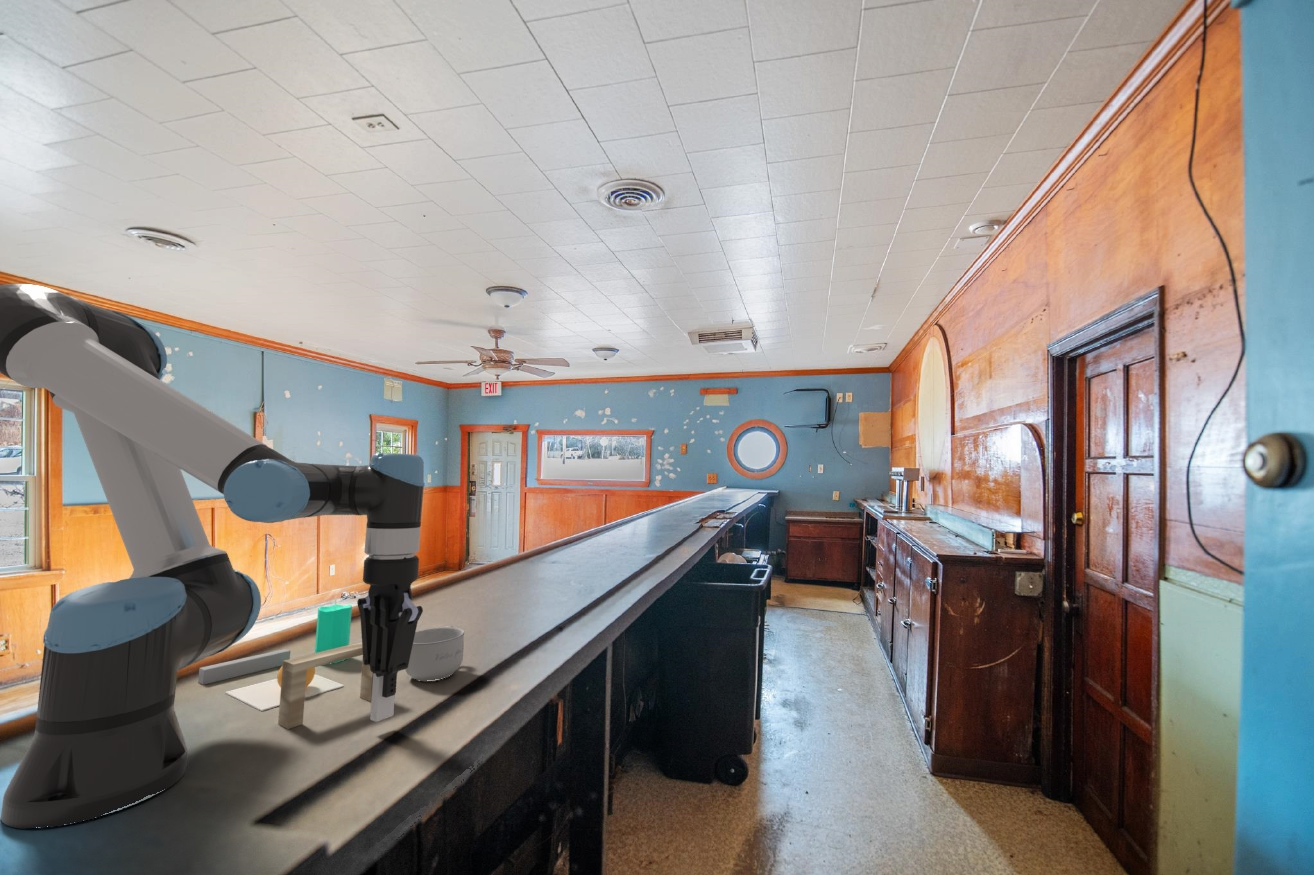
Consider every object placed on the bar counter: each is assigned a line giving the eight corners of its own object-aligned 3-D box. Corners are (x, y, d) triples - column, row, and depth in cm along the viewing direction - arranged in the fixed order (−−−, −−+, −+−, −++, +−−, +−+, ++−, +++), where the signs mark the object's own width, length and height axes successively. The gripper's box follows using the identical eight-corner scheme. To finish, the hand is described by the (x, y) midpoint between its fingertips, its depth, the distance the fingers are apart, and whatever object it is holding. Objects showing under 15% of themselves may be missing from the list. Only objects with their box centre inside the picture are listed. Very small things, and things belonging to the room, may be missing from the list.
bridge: (381, 697, 93) (385, 642, 94) (288, 729, 80) (293, 664, 81) (371, 693, 94) (374, 639, 95) (278, 724, 82) (283, 660, 83)
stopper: (202, 684, 96) (204, 670, 97) (198, 682, 98) (199, 667, 98) (289, 663, 108) (290, 650, 109) (284, 661, 109) (285, 648, 110)
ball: (268, 676, 95) (278, 703, 92) (278, 655, 93) (289, 682, 91) (302, 667, 99) (313, 692, 97) (313, 647, 98) (324, 672, 95)
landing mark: (261, 711, 86) (261, 710, 86) (225, 693, 93) (225, 692, 93) (344, 686, 97) (344, 685, 97) (306, 671, 104) (306, 670, 104)
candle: (354, 658, 112) (358, 599, 113) (323, 666, 107) (328, 604, 108) (338, 653, 116) (342, 595, 117) (308, 660, 110) (312, 600, 112)
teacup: (441, 689, 97) (443, 643, 98) (387, 684, 99) (390, 638, 100) (481, 665, 111) (483, 624, 111) (433, 660, 113) (435, 620, 113)
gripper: (441, 556, 83) (432, 719, 81) (389, 549, 89) (380, 699, 87) (395, 562, 76) (384, 738, 74) (343, 554, 83) (331, 715, 81)
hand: (381, 717), depth 81 cm, fingers closed
